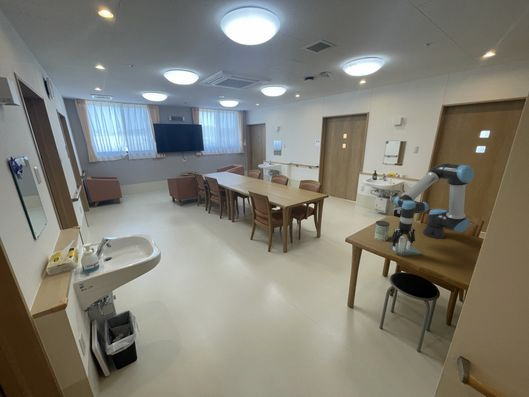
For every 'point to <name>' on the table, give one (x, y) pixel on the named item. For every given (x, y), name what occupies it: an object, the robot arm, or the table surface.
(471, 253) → the table surface
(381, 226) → the coffee can
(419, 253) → the slate board
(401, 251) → the chalk stick
